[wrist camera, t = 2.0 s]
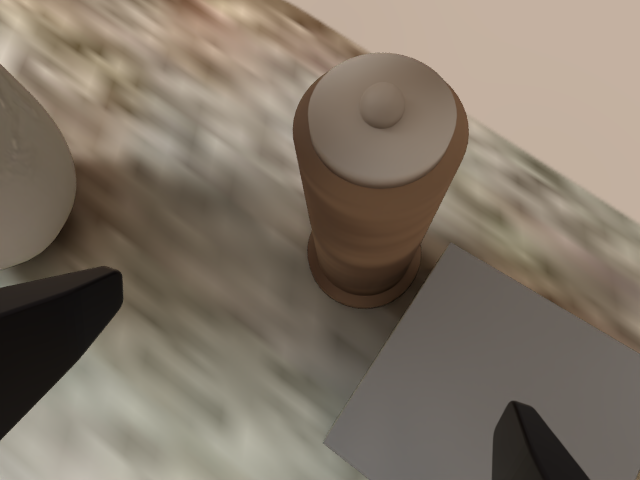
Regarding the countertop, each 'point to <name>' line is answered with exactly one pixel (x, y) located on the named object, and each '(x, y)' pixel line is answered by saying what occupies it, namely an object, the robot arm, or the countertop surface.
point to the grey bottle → (30, 175)
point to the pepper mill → (375, 171)
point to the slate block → (488, 382)
